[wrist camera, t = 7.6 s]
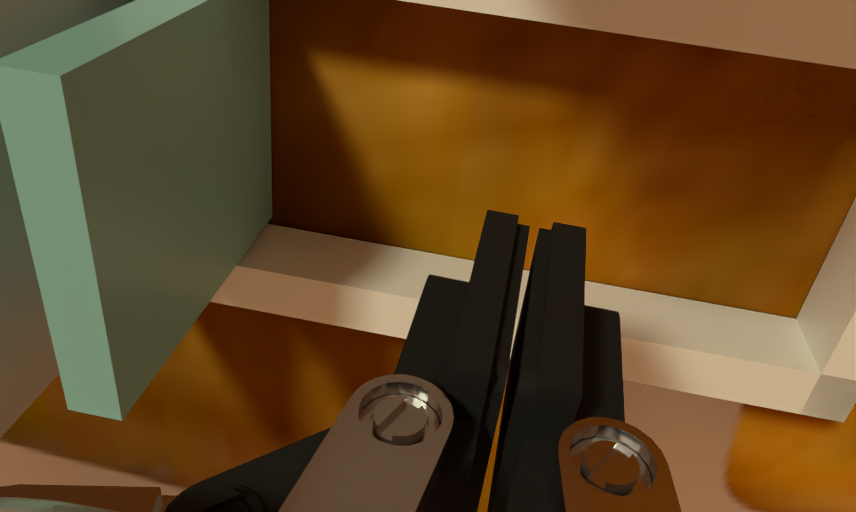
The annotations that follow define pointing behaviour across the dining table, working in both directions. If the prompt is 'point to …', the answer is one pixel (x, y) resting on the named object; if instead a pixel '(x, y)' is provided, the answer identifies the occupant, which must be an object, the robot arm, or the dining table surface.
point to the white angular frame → (408, 270)
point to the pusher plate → (138, 179)
